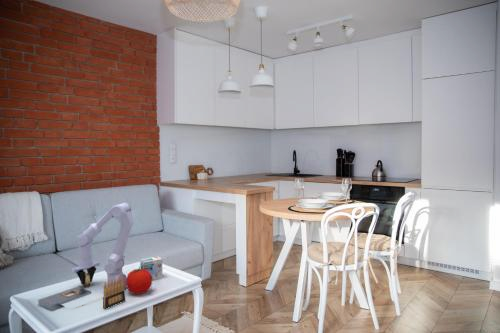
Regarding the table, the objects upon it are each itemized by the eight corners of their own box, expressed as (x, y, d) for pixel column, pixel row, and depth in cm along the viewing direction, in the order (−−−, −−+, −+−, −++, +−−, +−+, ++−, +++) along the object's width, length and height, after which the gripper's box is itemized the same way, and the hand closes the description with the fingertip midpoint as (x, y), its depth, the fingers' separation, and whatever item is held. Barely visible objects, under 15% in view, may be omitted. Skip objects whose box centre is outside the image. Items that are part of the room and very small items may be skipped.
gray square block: (95, 287, 190) (95, 284, 190) (84, 291, 185) (84, 288, 185) (88, 285, 193) (88, 282, 193) (78, 289, 188) (77, 286, 188)
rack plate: (91, 296, 178) (91, 291, 178) (52, 311, 163) (51, 304, 162) (77, 291, 185) (77, 286, 185) (38, 305, 169) (38, 299, 169)
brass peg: (91, 285, 189) (91, 273, 189) (85, 287, 187) (85, 275, 186) (87, 284, 191) (87, 272, 191) (81, 286, 189) (81, 274, 188)
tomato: (145, 285, 191) (144, 263, 191) (157, 292, 181) (156, 269, 181) (122, 291, 183) (121, 269, 183) (133, 299, 173) (132, 275, 173)
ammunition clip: (105, 309, 163) (104, 282, 163) (102, 308, 164) (101, 281, 164) (125, 300, 172) (124, 275, 172) (122, 300, 173) (121, 274, 173)
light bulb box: (144, 282, 197) (143, 262, 196) (140, 278, 202) (139, 259, 202) (163, 278, 203) (162, 258, 202) (159, 274, 208) (158, 255, 208)
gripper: (93, 252, 197) (94, 277, 197) (67, 259, 185) (68, 285, 185) (101, 254, 193) (102, 279, 193) (75, 261, 181) (76, 288, 181)
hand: (86, 283), depth 189 cm, fingers closed on brass peg, 3 cm apart
